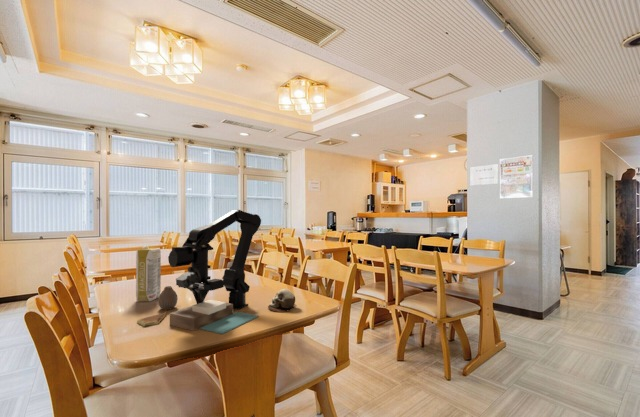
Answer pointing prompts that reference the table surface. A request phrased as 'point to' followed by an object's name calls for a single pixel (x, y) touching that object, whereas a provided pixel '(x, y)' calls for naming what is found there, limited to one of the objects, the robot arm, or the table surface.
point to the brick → (197, 317)
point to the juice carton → (148, 273)
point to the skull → (283, 301)
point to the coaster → (209, 307)
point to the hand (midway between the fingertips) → (199, 306)
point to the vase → (168, 298)
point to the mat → (229, 322)
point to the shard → (151, 319)
